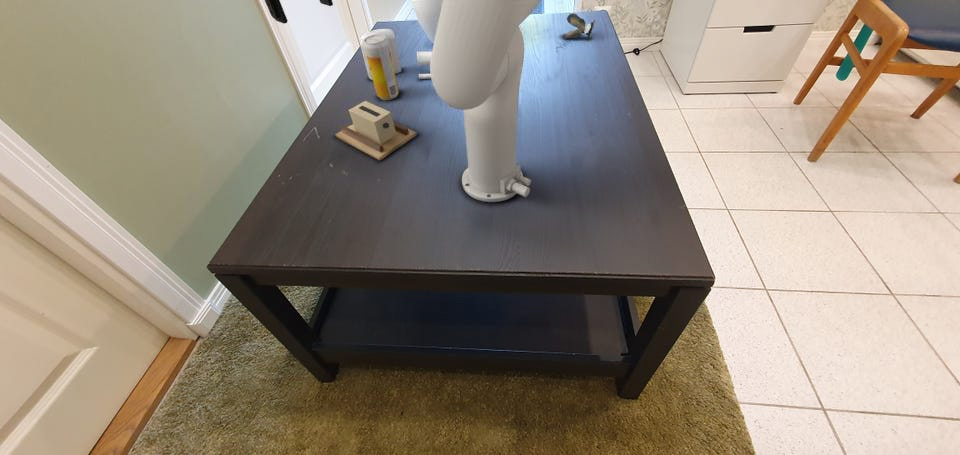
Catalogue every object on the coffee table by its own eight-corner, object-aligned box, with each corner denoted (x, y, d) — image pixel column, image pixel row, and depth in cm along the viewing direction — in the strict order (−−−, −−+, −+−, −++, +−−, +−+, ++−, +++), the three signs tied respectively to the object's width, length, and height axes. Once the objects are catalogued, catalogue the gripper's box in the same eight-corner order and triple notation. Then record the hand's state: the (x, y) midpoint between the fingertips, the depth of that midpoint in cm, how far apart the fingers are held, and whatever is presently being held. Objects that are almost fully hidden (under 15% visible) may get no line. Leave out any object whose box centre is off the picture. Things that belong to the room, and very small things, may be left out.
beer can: (388, 87, 106) (374, 32, 95) (404, 93, 103) (392, 36, 92) (373, 97, 103) (357, 40, 91) (388, 103, 100) (374, 46, 89)
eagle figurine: (591, 28, 124) (565, 21, 124) (598, 13, 117) (570, 6, 117) (586, 48, 123) (559, 42, 124) (592, 35, 116) (564, 28, 116)
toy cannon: (468, 80, 110) (467, 73, 105) (421, 82, 111) (417, 76, 105) (466, 52, 110) (465, 44, 104) (419, 55, 110) (416, 47, 105)
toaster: (371, 122, 93) (365, 100, 88) (399, 135, 88) (393, 113, 84) (356, 132, 90) (348, 109, 86) (383, 146, 86) (376, 123, 81)
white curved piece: (398, 66, 114) (389, 23, 105) (404, 71, 112) (395, 28, 103) (367, 76, 111) (354, 33, 102) (372, 82, 108) (360, 38, 99)
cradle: (373, 114, 97) (371, 106, 95) (417, 135, 90) (415, 126, 88) (336, 137, 91) (332, 129, 89) (379, 160, 84) (377, 152, 82)
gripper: (214, -103, 49) (274, 33, 62) (322, -121, 58) (355, 2, 71) (189, -106, 52) (250, 24, 65) (295, -123, 61) (331, -5, 74)
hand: (305, 12), depth 68 cm, fingers open, 9 cm apart
